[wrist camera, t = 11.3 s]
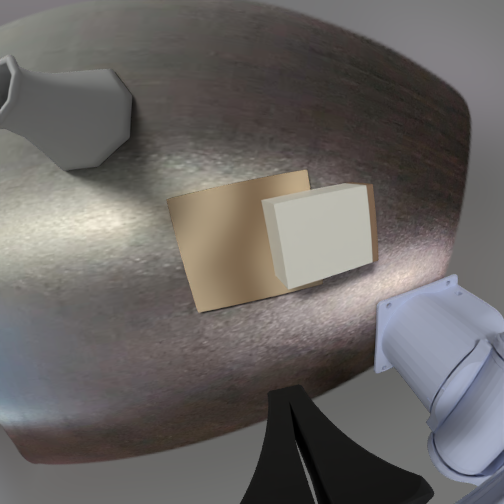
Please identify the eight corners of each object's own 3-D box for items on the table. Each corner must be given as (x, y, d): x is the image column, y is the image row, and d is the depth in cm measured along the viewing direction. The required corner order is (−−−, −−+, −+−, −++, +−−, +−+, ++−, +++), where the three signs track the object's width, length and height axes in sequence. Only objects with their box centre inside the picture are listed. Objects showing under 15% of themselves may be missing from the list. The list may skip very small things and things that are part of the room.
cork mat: (305, 169, 18) (306, 169, 17) (321, 281, 20) (323, 283, 20) (167, 198, 17) (166, 199, 17) (198, 310, 20) (198, 312, 19)
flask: (59, 187, 16) (-42, 212, 6) (40, 101, 14) (-52, 79, 4) (147, 145, 16) (70, 125, 7) (123, 54, 14) (56, -17, 4)
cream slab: (261, 200, 17) (351, 182, 18) (275, 275, 19) (358, 250, 20) (273, 204, 15) (372, 184, 16) (288, 289, 16) (378, 260, 17)
